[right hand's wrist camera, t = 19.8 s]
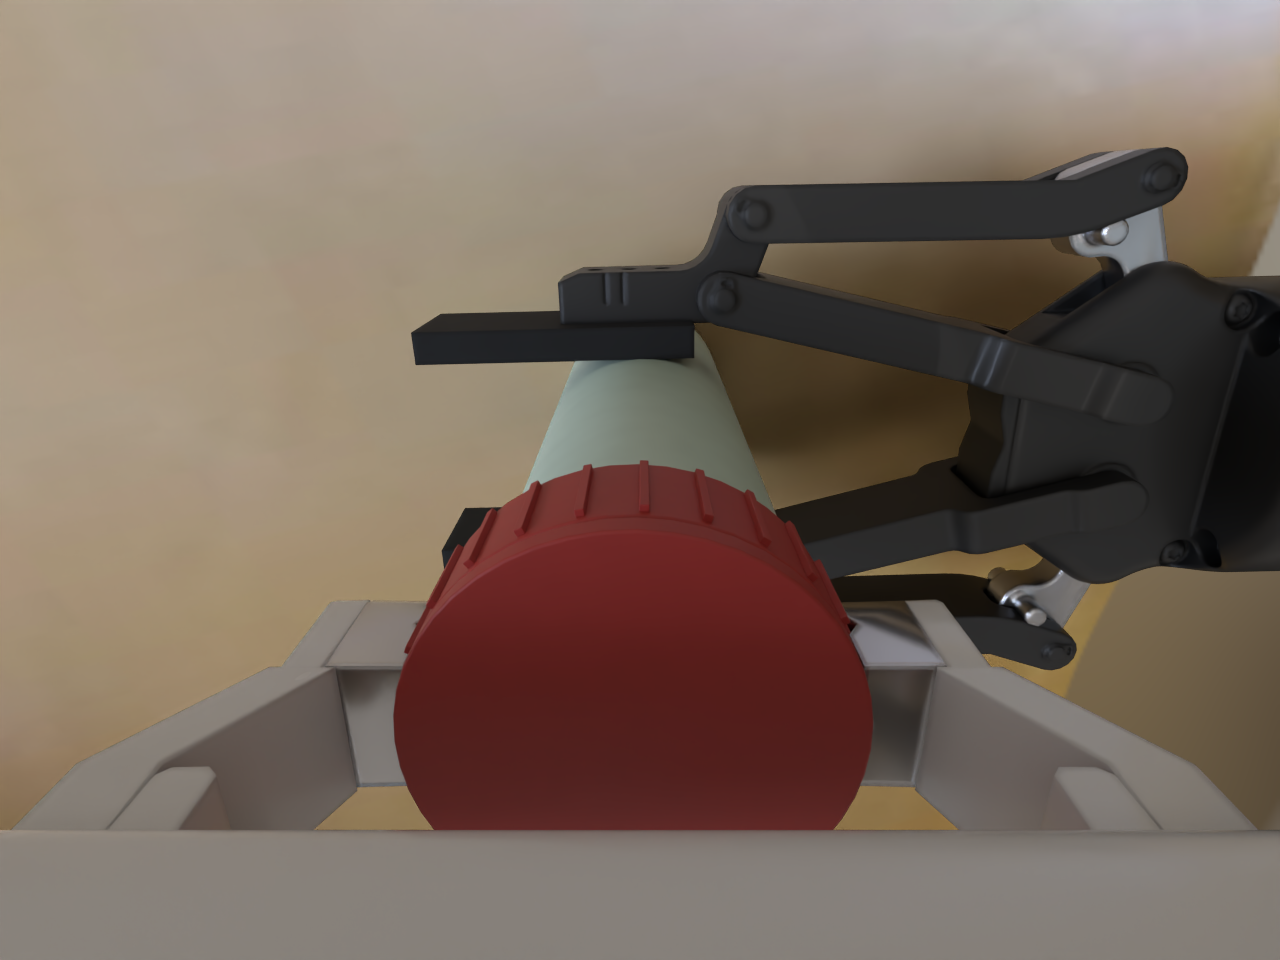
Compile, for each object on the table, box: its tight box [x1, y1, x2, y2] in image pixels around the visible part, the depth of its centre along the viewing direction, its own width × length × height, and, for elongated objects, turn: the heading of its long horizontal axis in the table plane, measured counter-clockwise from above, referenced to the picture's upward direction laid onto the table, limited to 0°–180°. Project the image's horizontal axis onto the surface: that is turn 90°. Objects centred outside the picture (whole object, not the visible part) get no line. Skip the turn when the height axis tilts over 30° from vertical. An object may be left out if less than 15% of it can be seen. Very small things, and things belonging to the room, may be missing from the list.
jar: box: [523, 330, 777, 516], centre depth 17 cm, size 5×5×17 cm
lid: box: [393, 460, 873, 830], centre depth 9 cm, size 6×6×2 cm
